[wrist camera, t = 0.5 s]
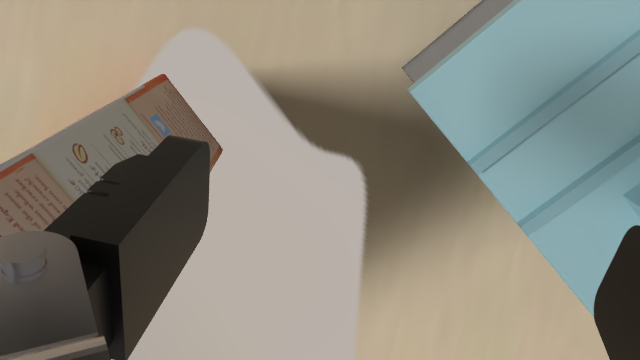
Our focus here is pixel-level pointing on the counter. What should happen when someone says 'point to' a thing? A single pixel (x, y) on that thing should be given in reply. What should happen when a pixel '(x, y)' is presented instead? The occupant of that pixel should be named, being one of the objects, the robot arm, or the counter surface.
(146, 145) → the cracker box
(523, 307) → the counter surface
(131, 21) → the counter surface
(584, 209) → the lid
